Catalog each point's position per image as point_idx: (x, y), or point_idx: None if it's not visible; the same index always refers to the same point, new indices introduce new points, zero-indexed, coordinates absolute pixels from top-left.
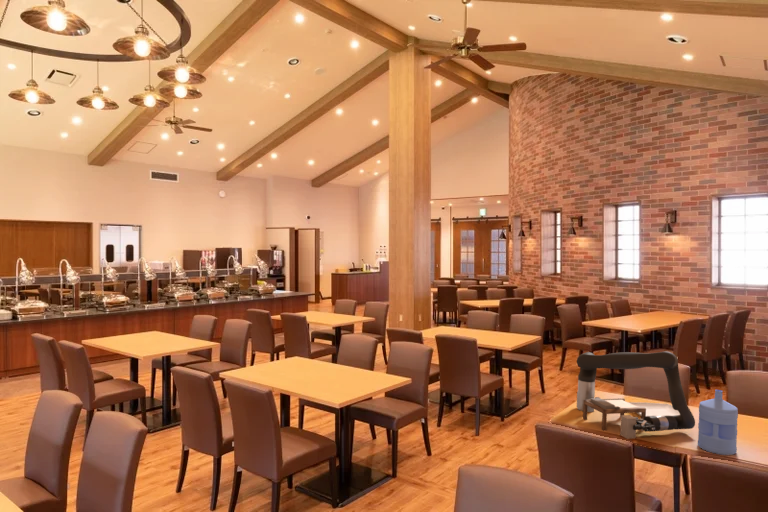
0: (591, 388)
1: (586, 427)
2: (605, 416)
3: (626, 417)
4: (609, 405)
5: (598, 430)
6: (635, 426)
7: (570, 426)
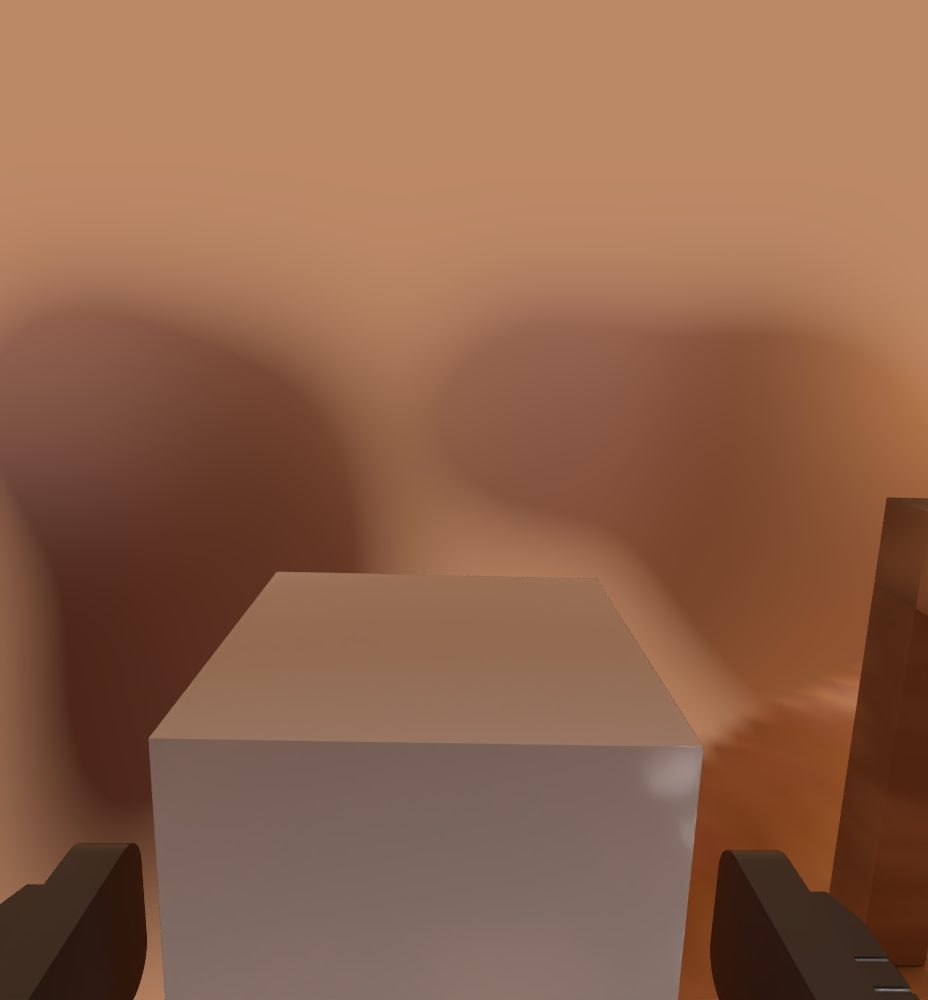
0: None
1: None
2: (888, 653)
3: (385, 590)
4: None
5: (796, 846)
6: (54, 896)
7: (848, 675)
